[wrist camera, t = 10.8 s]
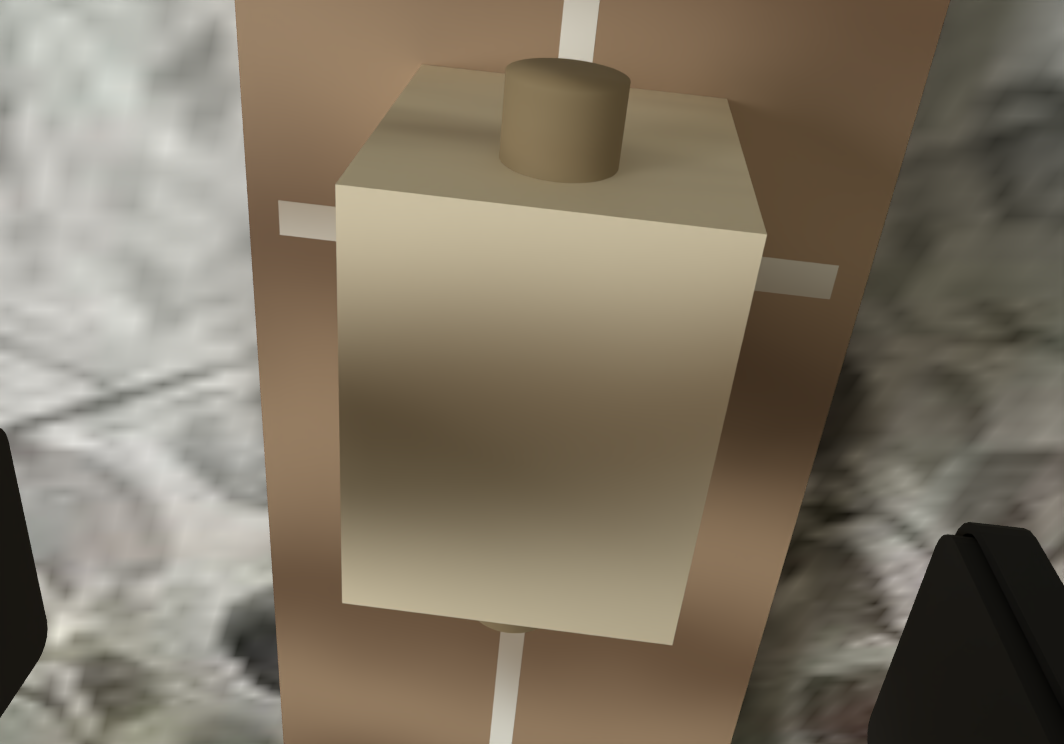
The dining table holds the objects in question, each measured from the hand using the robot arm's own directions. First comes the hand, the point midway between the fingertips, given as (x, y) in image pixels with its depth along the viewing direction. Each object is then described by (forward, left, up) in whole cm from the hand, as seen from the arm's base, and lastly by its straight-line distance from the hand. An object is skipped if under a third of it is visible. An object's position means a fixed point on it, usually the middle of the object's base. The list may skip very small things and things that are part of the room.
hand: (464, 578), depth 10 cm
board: (-8, 0, -9) cm, 12 cm away
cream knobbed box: (0, 0, -7) cm, 7 cm away
